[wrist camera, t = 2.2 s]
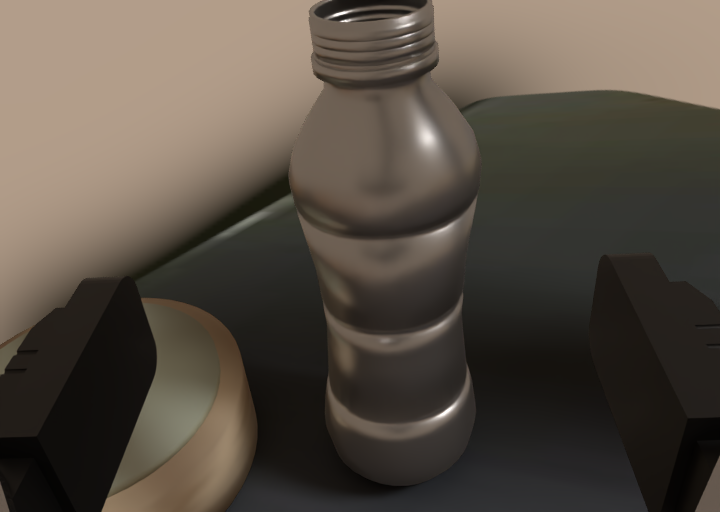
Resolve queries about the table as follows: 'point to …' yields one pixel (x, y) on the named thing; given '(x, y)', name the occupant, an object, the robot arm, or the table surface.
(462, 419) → the plastic bottle
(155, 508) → the wooden stand
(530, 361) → the table surface
